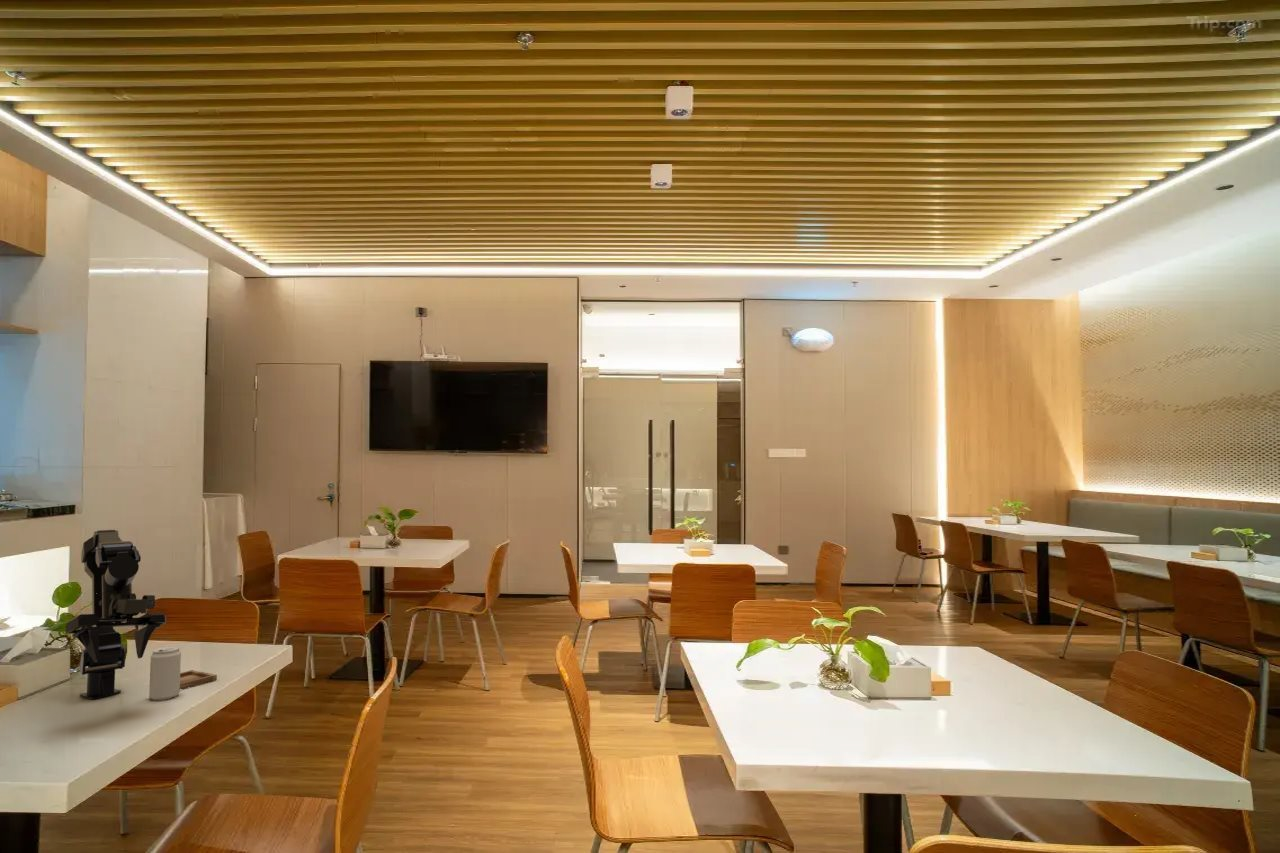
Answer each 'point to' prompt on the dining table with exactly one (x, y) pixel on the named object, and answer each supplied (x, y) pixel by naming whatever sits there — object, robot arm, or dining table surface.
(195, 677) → the tray
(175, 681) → the beverage can
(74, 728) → the dining table surface
